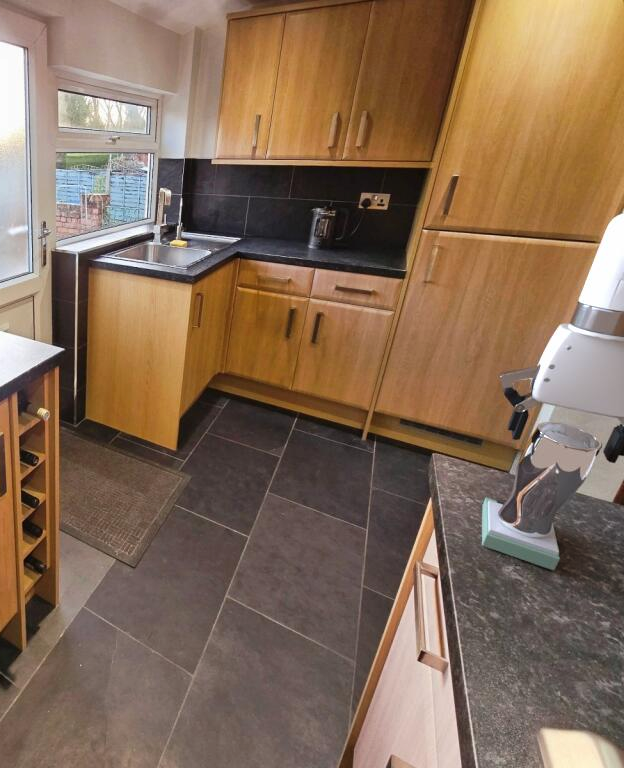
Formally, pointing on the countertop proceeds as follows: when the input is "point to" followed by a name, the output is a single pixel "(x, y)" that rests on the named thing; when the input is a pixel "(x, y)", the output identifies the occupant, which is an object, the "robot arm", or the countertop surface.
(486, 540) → the scale
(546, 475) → the beer glass
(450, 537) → the countertop surface
